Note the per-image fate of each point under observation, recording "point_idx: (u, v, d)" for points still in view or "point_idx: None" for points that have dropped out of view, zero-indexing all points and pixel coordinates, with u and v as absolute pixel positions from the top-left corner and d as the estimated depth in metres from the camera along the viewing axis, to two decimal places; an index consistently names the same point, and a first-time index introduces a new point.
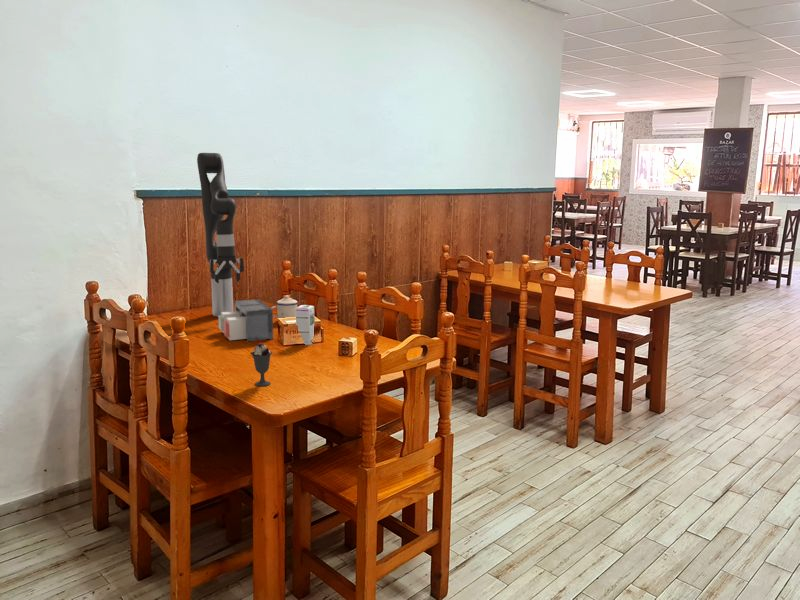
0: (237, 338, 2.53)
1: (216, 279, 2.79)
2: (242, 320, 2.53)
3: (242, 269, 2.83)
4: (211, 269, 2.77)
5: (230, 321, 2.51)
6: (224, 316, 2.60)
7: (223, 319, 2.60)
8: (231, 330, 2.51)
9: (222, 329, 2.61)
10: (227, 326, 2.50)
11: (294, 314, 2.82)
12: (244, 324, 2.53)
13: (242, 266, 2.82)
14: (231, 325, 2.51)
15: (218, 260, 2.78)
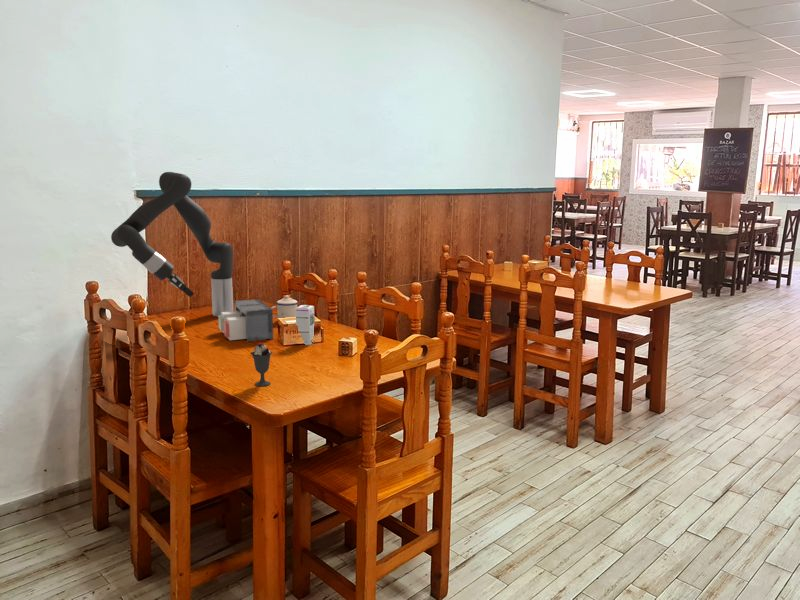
0: (237, 338, 2.53)
1: None
2: (242, 320, 2.53)
3: (180, 289, 2.47)
4: None
5: (230, 321, 2.51)
6: (224, 316, 2.60)
7: (223, 319, 2.60)
8: (231, 330, 2.51)
9: (222, 329, 2.61)
10: (227, 326, 2.50)
11: (294, 314, 2.82)
12: (244, 324, 2.53)
13: (177, 287, 2.46)
14: (231, 325, 2.51)
15: None
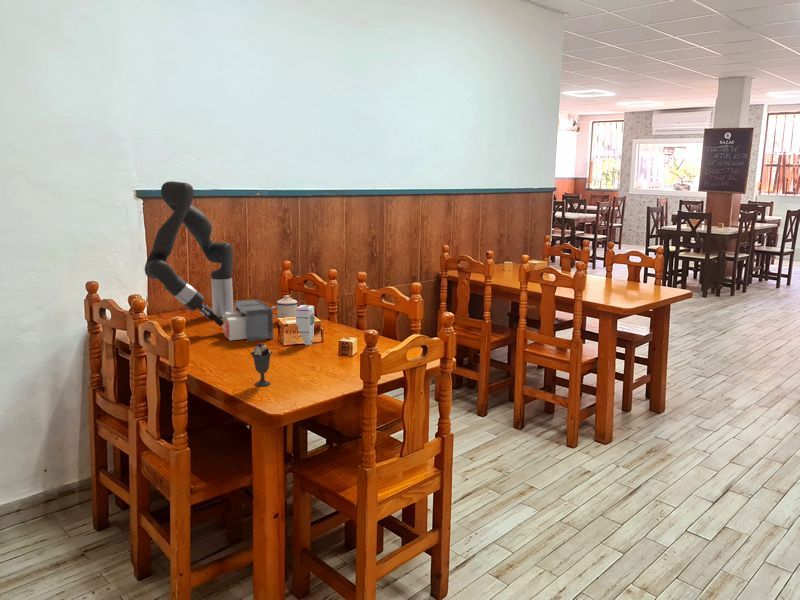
0: (237, 338, 2.53)
1: None
2: (242, 320, 2.53)
3: (211, 319, 2.58)
4: None
5: (230, 321, 2.51)
6: (228, 316, 2.61)
7: None
8: (231, 330, 2.51)
9: None
10: (227, 326, 2.50)
11: (294, 314, 2.82)
12: (244, 324, 2.53)
13: (210, 318, 2.57)
14: (231, 325, 2.51)
15: None
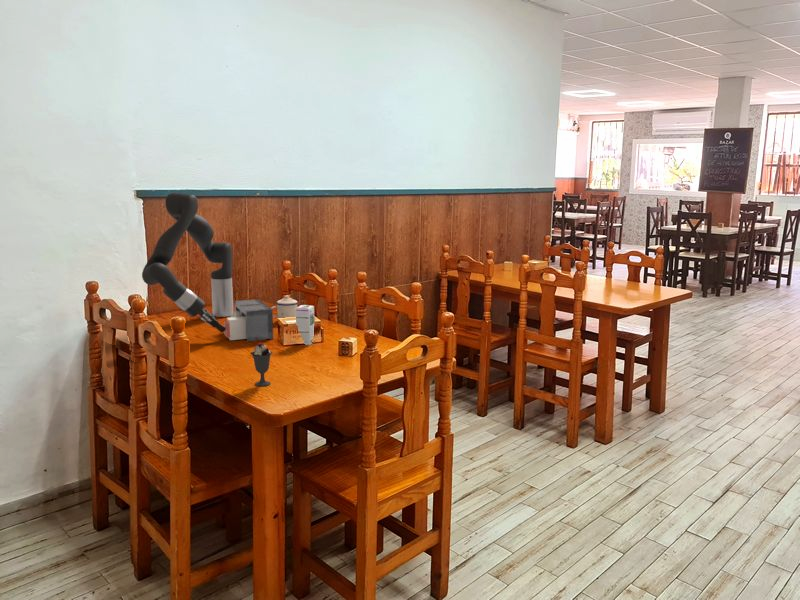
0: (237, 338, 2.53)
1: None
2: (242, 320, 2.53)
3: (212, 325, 2.48)
4: None
5: (230, 321, 2.51)
6: (237, 315, 2.62)
7: None
8: (231, 330, 2.52)
9: None
10: (227, 326, 2.50)
11: (294, 314, 2.82)
12: (244, 324, 2.53)
13: (211, 325, 2.47)
14: (231, 325, 2.51)
15: None
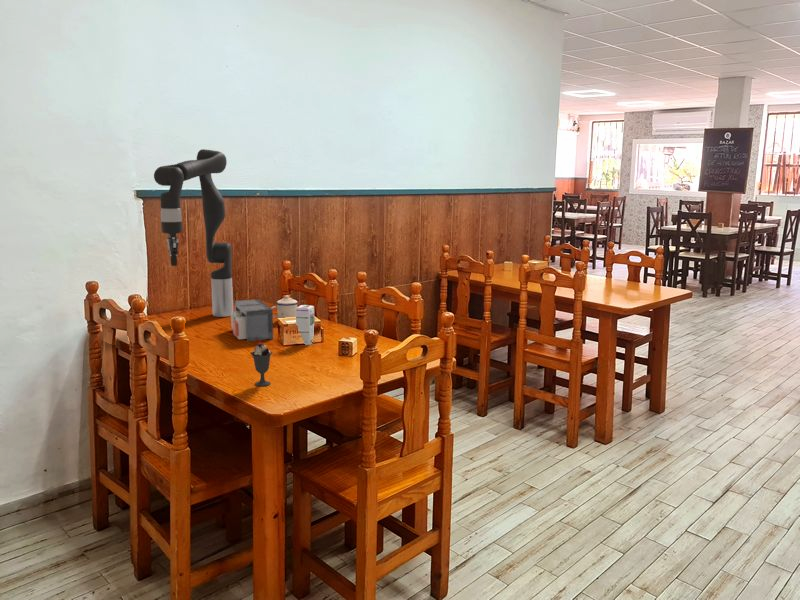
0: (246, 337, 2.55)
1: None
2: None
3: (170, 252, 2.45)
4: None
5: (239, 320, 2.52)
6: (237, 315, 2.62)
7: None
8: (240, 330, 2.53)
9: None
10: (236, 325, 2.52)
11: (294, 314, 2.82)
12: None
13: (170, 250, 2.44)
14: (240, 324, 2.53)
15: (168, 237, 2.50)
